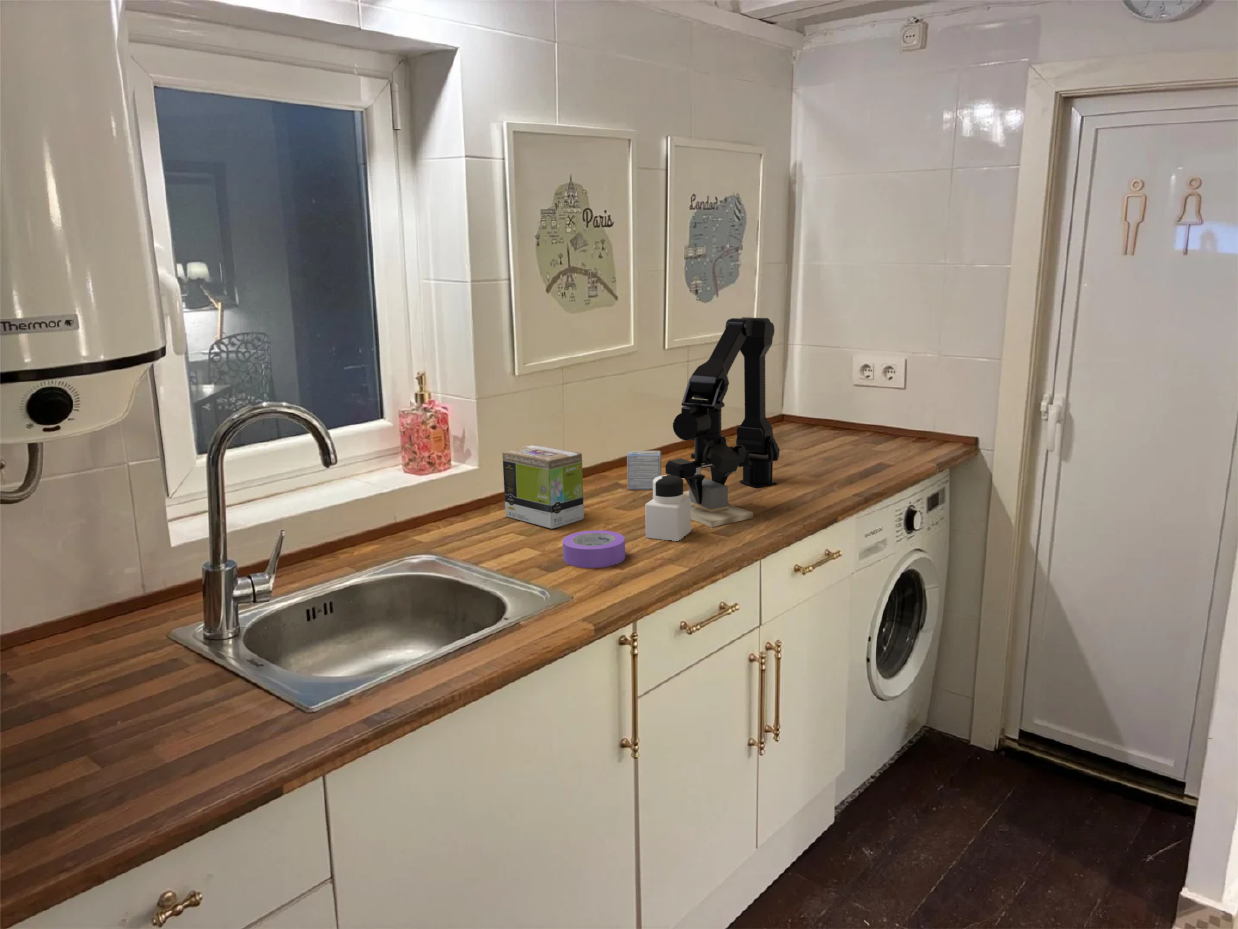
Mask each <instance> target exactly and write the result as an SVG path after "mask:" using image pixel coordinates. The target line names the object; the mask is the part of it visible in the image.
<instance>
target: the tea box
mask: <svg viewBox="0 0 1238 929" xmlns="http://www.w3.org/2000/svg"><path fill="white" fill-rule="evenodd" d="M502 468H503V469H502V473H503V474H502V475H503V489H504V490H503V492H504V511H505V517H508V518H511V519H514V520H518V521H521V522H526V523H530V524H533V525H535V526H536V525H537V526H541V527H545V528H548V529H556V528H560V527H563V526H566V525H569V524H573V523H576V522H580V521H582V520H584V517H585V516H584V515H585V514H584V513H585V512H584V506H585V505H584V480H583V453H582V452H578V451H573V450H567V449H562V448H556V447H550V446H544V445H538V444H533V445H532V444H531V445H528V446H523V447H519V448H514V449H510V450H506V451H505V450H504V451H502Z"/></svg>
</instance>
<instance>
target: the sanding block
mask: <svg viewBox="0 0 1238 929" xmlns="http://www.w3.org/2000/svg"><path fill="white" fill-rule="evenodd" d="M688 491H689V498H690V499H691V505H694V506H696V507H699V508H701V509H704V510H707V511H709V512H715V511H720V510H724V509H728V504H729V501H728V499H729V498H728V497H729V494H728V493H729V492H728V491H729V487H728V485H726V484H725V485H723V484H720V483H717V482H714V481H712V479H708V478H704V479H703V481H702V502H701V504H698V503H697V502H696V500H695V497H694V495H693V493H692V491H691V489H690V487H689V486H688Z"/></svg>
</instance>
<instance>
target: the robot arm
mask: <svg viewBox="0 0 1238 929" xmlns="http://www.w3.org/2000/svg"><path fill="white" fill-rule="evenodd" d="M774 336H775V325H774V323H773V322H772V321H771V320H770V318H768V317H751V316H749V317H744V316H742V317H739V318H737V317H736V318H735V317H734V318H733V317H732V318H728V319H727V320H726V322H725V328H724V330H723V333H722V335H721V336H720V338H719V340H718V342H717V343H716V345H715V347H714V349H713V351H712V353H711V355H710V357H709V359H708V360H707V361H706V362H704V363H702V364H701V365H699V366H698V367H696V369H694V371H693V373H692V374H691V376H690V377H689V379H688V382H687V385H686V388H685V391H684V394H683V398H682V400H681V406H682V407H681V412H680V413H679V414H677V415H676V416H675V418H674V420H673V422H672V430H673V432H674V435H675V436H676V437H677V438H679V439H680V440H682V441H690V440H691V441H694V442H693V443H694V452H692V453H690V458H691V459H692V460H687V459H685V458H676V459H675V458H674V459H670V460H669V459H668V461H667V462H666V463H665V475H674V476H678V477H680V478H682V479H685V481H686V483H687V484H688V488H689V487H690V489H691V491H692V493H693V495H694V497H695V500H696V502H697V503H698V504H701V502H702V481H703V479H706V475H705V474H702V469H706V468H710V475H711V481H714V482H717V483H720V484H723V485H726V482H727V480H728V477H729V476H730V475H731V474H733V473H734V472H737V470H738V469H739V468H742V479H739V483H740V484H743V485H747V486H750V487H753V488H762V487H767V486H772V485H777V483H778V482H777V481H776V480H773V467H774V466H773V465H774V464H773V462H778V460H779V458H780V457H779V456H780V452H781V451H780V450H781V449H780V447H779V445H778V443H777V441H776V439H775V437H774V431H773V426H772V425H771V423H770V421H769V420H768V418H767V417H766V354H768V352H769V350H770V348H771V347H772V345H773V338H774ZM739 352H740V353H741V354H742V357H743V363H744V365H743V368H744V369H743V370H744V371H743V376H744V378H743V379H744V384H743V386H744V388H743V390H744V418H743V421H742V422H741V424H740V426H737V428H736V439H735V440H736V441H735V445H734V446H733V445H732V446H728V445H727V439H726V436H725V435H722V408H725V406H726V404H725V402H723V401H724V399H725V396H726V394H727V393H728V389H729V384H730V382H729V380H730V379H729V376H728V374H729V372H730V370H731V367H732V366H733V364H734V362H735V361H736V358H737V356H738V354H739Z"/></svg>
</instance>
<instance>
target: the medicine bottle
mask: <svg viewBox="0 0 1238 929" xmlns="http://www.w3.org/2000/svg"><path fill="white" fill-rule="evenodd" d="M683 492H684V480H683V478H680V477H678V476H674V475H669V474H664V475H662V474H661V476H658V477H656V478H655V479H654V480H653V490H652V498H654V499H652V498H651V500H649V501H648V502H647V503H645V504H644V506H645V508H644V509H645V510H644V511H645V512H644V513H645V514H644V516H645V518H644V519H645V520H644V521H645V523H644V524H645V538H647V539H652V540H660V539H661V540H662V541H668V540H672V541H671V542H676V541H678V542H680V541H681V540H682V539H683V538H685V537H686V536H687V535H688V534H690V532H692V519H691V499H690V498H683ZM684 536H685V537H684ZM661 540H660V541H661ZM679 540H680V541H679Z"/></svg>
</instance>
